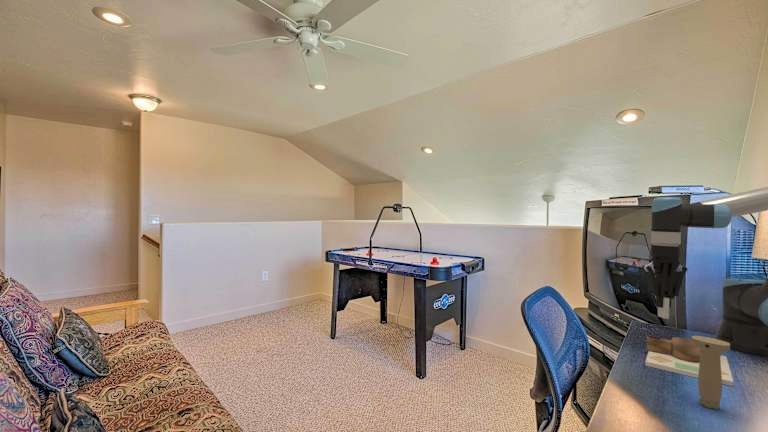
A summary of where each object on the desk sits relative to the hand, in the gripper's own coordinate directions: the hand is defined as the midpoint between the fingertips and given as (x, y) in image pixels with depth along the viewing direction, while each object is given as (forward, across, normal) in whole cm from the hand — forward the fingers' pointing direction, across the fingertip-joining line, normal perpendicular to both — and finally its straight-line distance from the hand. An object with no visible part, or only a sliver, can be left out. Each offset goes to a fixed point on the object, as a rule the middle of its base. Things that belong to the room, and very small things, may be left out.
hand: (663, 317), depth 112 cm
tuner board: (+11, 0, +9) cm, 14 cm away
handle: (+11, +15, +34) cm, 38 cm away
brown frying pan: (+9, +2, +7) cm, 12 cm away
